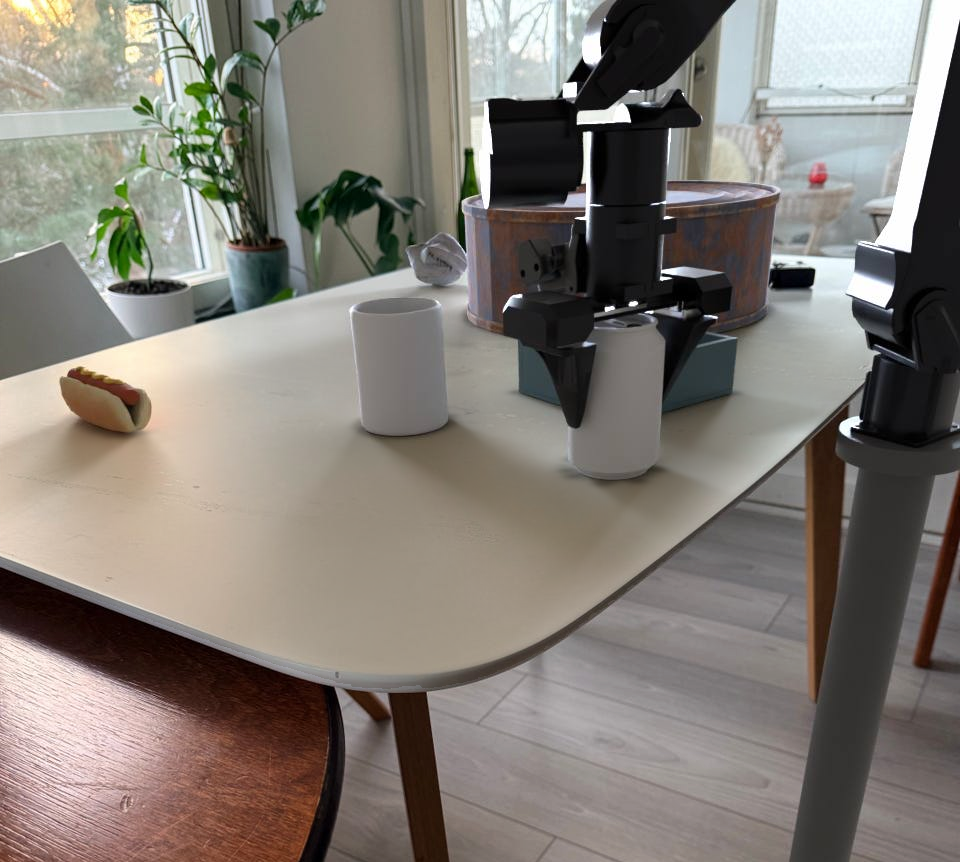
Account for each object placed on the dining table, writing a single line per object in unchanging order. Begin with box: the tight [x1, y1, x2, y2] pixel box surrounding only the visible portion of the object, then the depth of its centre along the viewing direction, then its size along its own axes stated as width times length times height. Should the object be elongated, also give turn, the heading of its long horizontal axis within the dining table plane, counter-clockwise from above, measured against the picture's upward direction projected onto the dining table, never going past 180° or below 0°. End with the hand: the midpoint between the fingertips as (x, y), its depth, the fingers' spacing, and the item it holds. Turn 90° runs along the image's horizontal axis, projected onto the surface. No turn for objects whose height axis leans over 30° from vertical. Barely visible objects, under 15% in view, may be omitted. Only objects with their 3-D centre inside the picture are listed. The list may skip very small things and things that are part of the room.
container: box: [461, 179, 782, 335], centre depth 128 cm, size 43×43×15 cm
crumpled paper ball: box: [405, 231, 467, 286], centre depth 154 cm, size 11×9×8 cm
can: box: [567, 314, 665, 481], centre depth 73 cm, size 8×8×12 cm
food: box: [59, 365, 153, 434], centre depth 92 cm, size 14×6×5 cm, turn 45°
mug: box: [349, 296, 449, 437], centre depth 87 cm, size 12×8×11 cm
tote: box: [517, 332, 739, 414], centre depth 93 cm, size 16×16×6 cm
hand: (616, 415), depth 73 cm, fingers closed on can, 9 cm apart
